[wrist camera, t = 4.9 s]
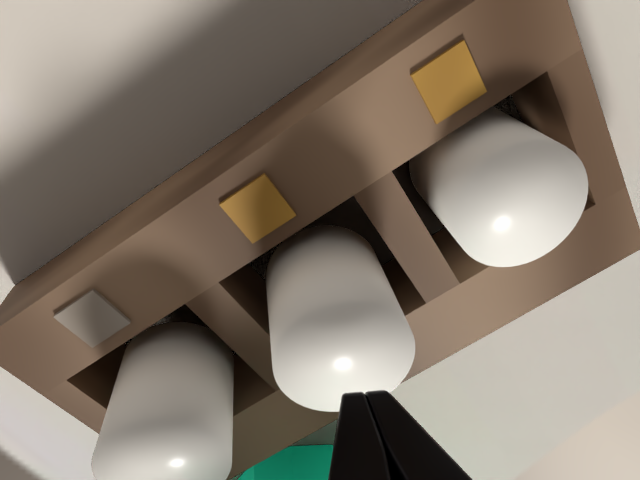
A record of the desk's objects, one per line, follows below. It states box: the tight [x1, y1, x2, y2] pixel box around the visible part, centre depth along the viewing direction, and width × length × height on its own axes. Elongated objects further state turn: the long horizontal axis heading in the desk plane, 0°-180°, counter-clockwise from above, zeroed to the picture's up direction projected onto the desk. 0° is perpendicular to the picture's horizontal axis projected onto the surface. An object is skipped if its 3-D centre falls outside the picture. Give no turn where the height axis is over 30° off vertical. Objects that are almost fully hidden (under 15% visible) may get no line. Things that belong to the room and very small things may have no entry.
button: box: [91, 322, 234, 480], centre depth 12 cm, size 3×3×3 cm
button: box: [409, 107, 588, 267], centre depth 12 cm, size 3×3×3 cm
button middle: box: [266, 225, 415, 412], centre depth 12 cm, size 3×3×3 cm
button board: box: [0, 0, 640, 480], centre depth 13 cm, size 15×8×3 cm, turn 122°
